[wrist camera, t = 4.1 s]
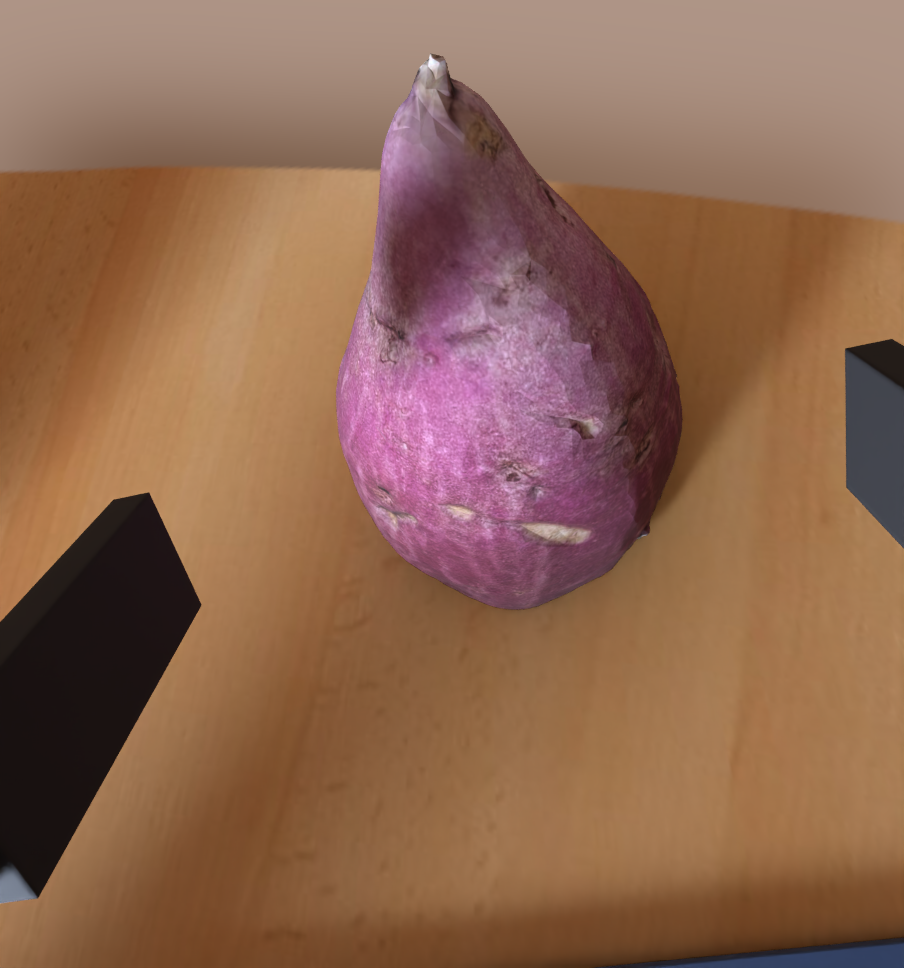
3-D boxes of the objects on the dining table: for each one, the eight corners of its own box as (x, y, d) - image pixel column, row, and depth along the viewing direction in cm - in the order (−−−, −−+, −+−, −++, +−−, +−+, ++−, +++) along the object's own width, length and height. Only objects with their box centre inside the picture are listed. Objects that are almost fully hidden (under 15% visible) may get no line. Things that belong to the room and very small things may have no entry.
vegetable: (420, 371, 31) (227, -26, 19) (689, 357, 27) (664, -142, 15) (357, 614, 25) (31, 281, 13) (680, 636, 22) (631, 211, 10)
